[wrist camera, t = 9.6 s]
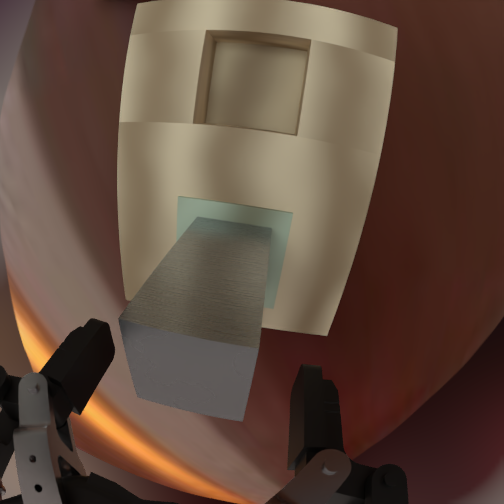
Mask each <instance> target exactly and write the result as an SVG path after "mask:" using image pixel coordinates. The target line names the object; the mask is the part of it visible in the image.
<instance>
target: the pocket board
mask: <svg viewBox="0 0 504 504" xmlns="http://www.w3.org/2000/svg"><path fill="white" fill-rule="evenodd" d="M397 29H398V28H396V27H393V26H391V25H388V24H385V23H382V22H379V21H376V20H373V19H369V18H366V17H363V16H359V15H356V14H352V13H348V12H344V11H340V10H336V9H332V8H327V7H322V6H317V5H312V4H306V3H300V2H293V1H286V0H158V1H151V2H145V3H138V4H137V8H136V12H135V16H134V21H133V26H132V30H131V35H130V41H129V46H128V52H127V58H126V65H125V72H124V79H123V87H122V97H121V107H120V119H119V135H118V164H117V193H118V222H119V239H120V252H121V263H122V272H123V281H124V289H125V297H126V300H129V301H131V300H132V299H133V298H134V296H135V295H136V294H137V292H138V291H139V290H140V288H141V287H142V286H143V284H144V283H145V282H146V280H147V279H148V278H149V276H150V275H151V274H152V272H153V271H154V270H155V268H156V267H157V266H158V265H159V263H160V262H161V261H162V259H163V258H164V257H165V256H166V254H167V253H168V252H169V251H170V249H171V248H172V247H173V246H174V244H175V243H176V242H177V241H178V239H179V238H180V237H181V236H182V234H183V233H184V232H185V231H186V230H187V228H188V227H189V226H190V225H191V224H192V222H193V221H194V220H195V219H196V217H204V218H211V219H217V220H224V221H231V222H237V223H244V224H250V225H256V226H263V227H269V228H272V232H271V242H270V252H269V262H268V271H267V281H266V290H265V299H264V308H263V317H262V326H261V327H264V328H271V329H278V330H285V331H292V332H300V333H307V334H316V335H324V336H327V334H328V332H329V329H330V326H331V324H332V321H333V318H334V316H335V313H336V310H337V307H338V305H339V302H340V299H341V296H342V293H343V290H344V287H345V284H346V281H347V278H348V275H349V272H350V269H351V266H352V263H353V260H354V256H355V253H356V250H357V246H358V243H359V240H360V236H361V233H362V229H363V225H364V222H365V218H366V214H367V211H368V207H369V203H370V199H371V195H372V191H373V187H374V182H375V178H376V174H377V169H378V165H379V160H380V155H381V150H382V145H383V140H384V134H385V129H386V123H387V117H388V111H389V105H390V98H391V91H392V83H393V75H394V66H395V56H396V44H397Z"/></svg>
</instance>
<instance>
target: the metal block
mask: <svg viewBox="0 0 504 504" xmlns="http://www.w3.org/2000/svg"><path fill="white" fill-rule="evenodd" d="M271 232H272V228H269V227H263V226H256V225H250V224H244V223H237V222H231V221H224V220H217V219H211V218H204V217H196V219H195V220H194V221H193V222H192V224H191V225H190V226H189V227H188V228H187V230H186V231H185V232H184V233H183V234H182V236H181V237H180V238H179V239H178V241H177V242H176V243H175V244H174V246H173V247H172V248H171V249H170V251H169V252H168V253H167V254H166V256H165V257H164V258H163V259H162V261H161V262H160V263H159V265H158V266H157V267H156V268H155V270H154V271H153V272H152V274H151V275H150V276H149V278H148V279H147V280H146V282H145V283H144V284H143V286H142V287H141V288H140V290H139V291H138V292H137V294H136V295H135V296H134V298H133V299H132V300H131V302H130V303H129V304H128V306H127V307H126V309H125V310H124V311H123V313H122V314H121V315H120V317H119V318H118V319H119V325H120V330H121V334H122V339H123V344H124V348H125V352H126V357H127V361H128V365H129V369H130V373H131V376H132V380H133V384H134V387H135V391H136V394H137V397H139V398H142V399H145V400H149V401H152V402H156V403H159V404H163V405H166V406H170V407H174V408H178V409H182V410H186V411H190V412H195V413H199V414H204V415H209V416H214V417H219V418H225V419H230V420H236V421H243V417H244V413H245V409H246V404H247V400H248V396H249V391H250V387H251V382H252V378H253V373H254V369H255V364H256V360H257V355H258V351H259V343H260V335H261V326H262V317H263V308H264V299H265V290H266V281H267V271H268V262H269V252H270V242H271Z"/></svg>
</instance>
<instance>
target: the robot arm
mask: <svg viewBox="0 0 504 504" xmlns="http://www.w3.org/2000/svg"><path fill="white" fill-rule="evenodd" d="M114 354H115V347H114V343H113V339H112V335H111V331H110V327H109V324H108V323H106V322H103V321H100V320H97V319H94V318H91V319H90V320H89V321H88V322H87V323H86V324H85V326H84V327H81V326H80V327H78V328H77V329H75V330H73V331H72V332H71V333H70V334H69V335H68V336H67V337H66V339H65V340H64V342H62V344H61V345H60V346H59V349H57V350H56V351H55V353H54V354H53V355H52V356H51V358H50V359H49V360H48V362H47V363H46V364H45V366H44V367H43V368H42V370H41V371H40V372H39V373H29V374H27V375H25V376H24V377H23V378H21V377H15V376H10V375H8V374H7V373H6V371H5V369H4V368H3V367H2V366H0V407H1V408H2V411H1V412H0V504H178V503H174V502H160V501H150V500H143V499H140V498H138V497H137V496H135V495H134V494H132V493H130V492H129V491H127V490H126V489H124V488H123V487H121V486H120V485H118V484H117V483H115V482H113V481H110V480H108V479H105V478H104V477H101V476H99V475H97V474H94V473H93V472H91V474H90V476H87V475H86V472H85V469H84V466H83V464H82V462H81V461H80V459H79V457H78V454H77V450H76V446H75V441H74V437H73V432H72V427H71V421H70V418H69V415H70V413H71V411H72V412H74V413H76V414H78V415H81V413H82V411H83V410H84V408H85V406H86V404H87V403H88V401H89V399H90V397H91V396H92V394H93V392H94V390H95V389H96V387H97V385H98V384H99V382H100V380H101V379H102V377H103V375H104V374H105V372H106V370H107V369H108V367H109V365H110V364H111V362H112V360H113V358H114ZM14 450H15V459H16V466H17V472H18V478H19V484H20V489H21V493H22V494H20V495H17V496H14V497H11V498H8V499H4V500H2V495H5V493H6V490H5V487H4V486H3V485H2V481H1V479H2V476H3V474H4V471H5V469H6V467H7V465H8V463H9V461H10V458H11V456H12V454H13V452H14ZM287 470H295V477H294V478H293V479H292V480H291V481H290V482H289V483H288V484H287V485H286V486H285V487H284V488H283V489H281V490H280V491H279V492H278V493H277V494H276V495H275V496H273V497H272V498H271V499H270V500H269V501H268V502H266V503H265V504H408V491H407V478H406V475H405V472H404V471H403V470H402V469H401V468H400V467H398V466H397V465H393V464H386V465H382V466H380V467H379V468H372V467H369V466H365V465H361V464H358V463H355V462H354V461H352V460H351V459H350V458H349V457H348V456H347V455H346V453H345V451H344V448H343V438H342V426H341V415H340V405H339V396H338V390H337V388H336V387H335V385H334V383H333V382H332V380H323V379H322V368H321V366H315V365H306V364H302V365H301V367H300V369H299V372H298V375H297V377H296V380H295V382H294V385H293V388H292V392H291V399H290V424H289V446H288V464H287Z"/></svg>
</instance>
